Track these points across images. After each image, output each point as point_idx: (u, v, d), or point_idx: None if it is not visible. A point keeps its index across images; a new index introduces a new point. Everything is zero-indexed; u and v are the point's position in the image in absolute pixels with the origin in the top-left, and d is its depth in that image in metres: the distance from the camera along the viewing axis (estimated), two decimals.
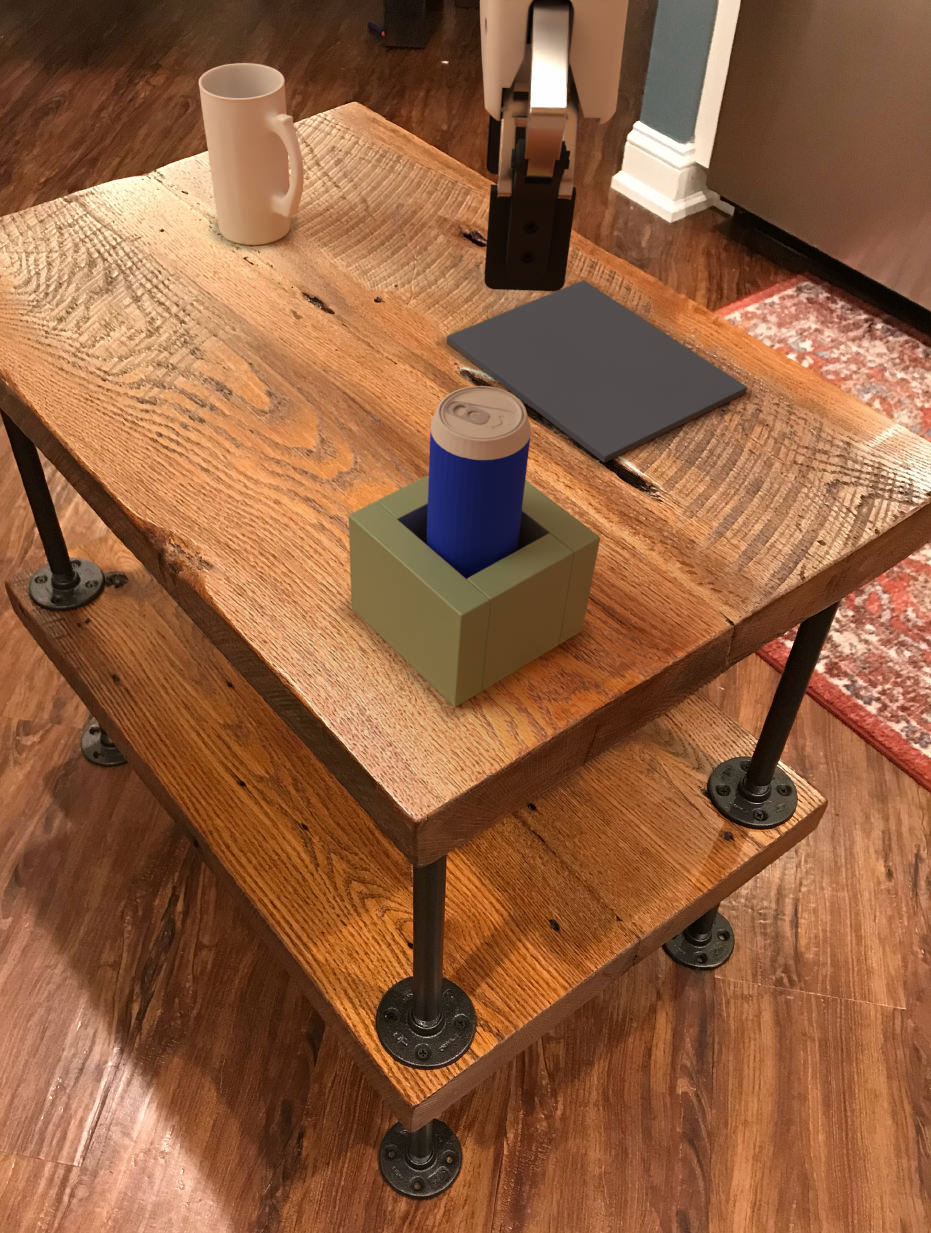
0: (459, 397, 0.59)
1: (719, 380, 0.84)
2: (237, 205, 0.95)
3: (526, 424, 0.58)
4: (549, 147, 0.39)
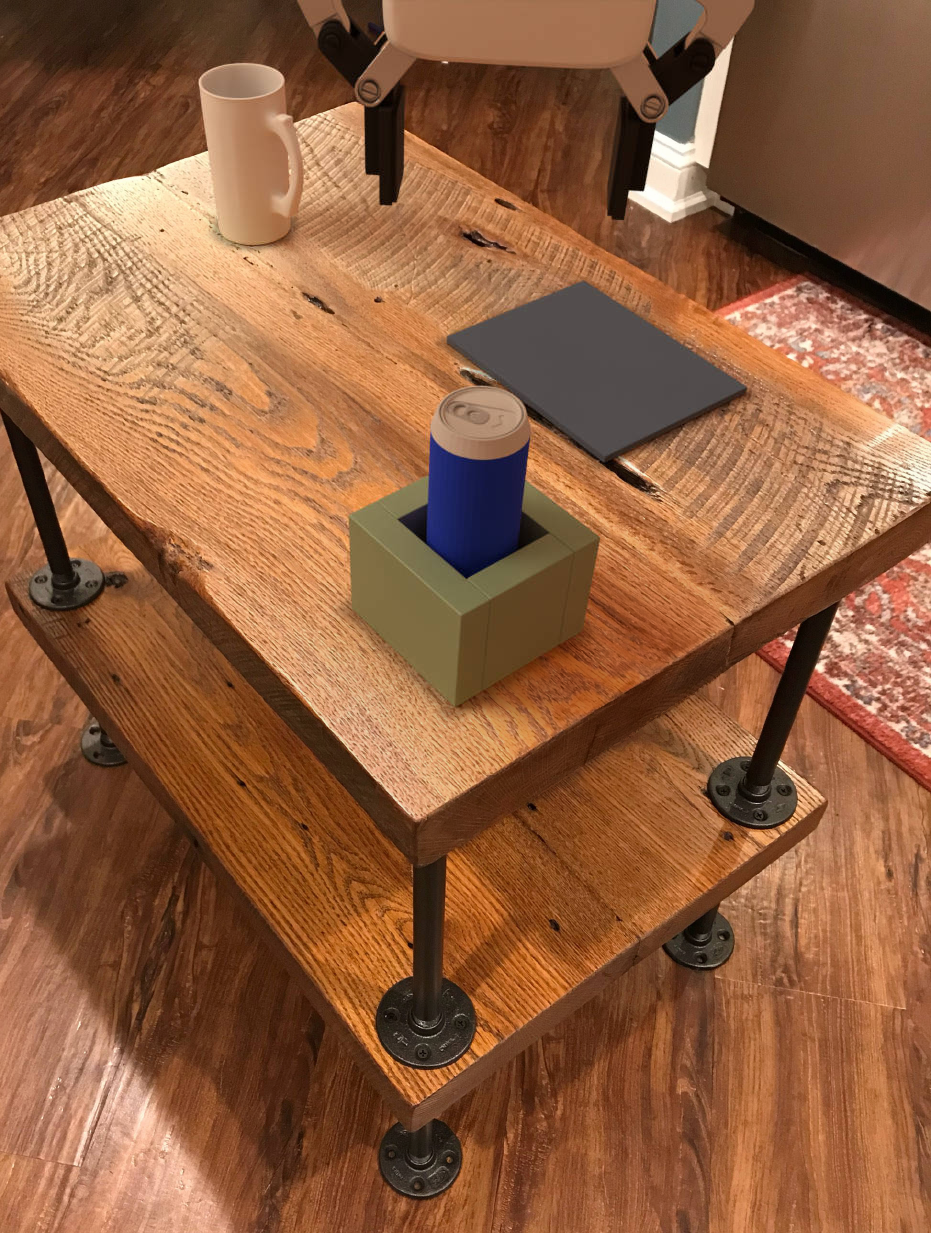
0: (459, 397, 0.59)
1: (719, 380, 0.84)
2: (237, 205, 0.95)
3: (526, 424, 0.58)
4: None
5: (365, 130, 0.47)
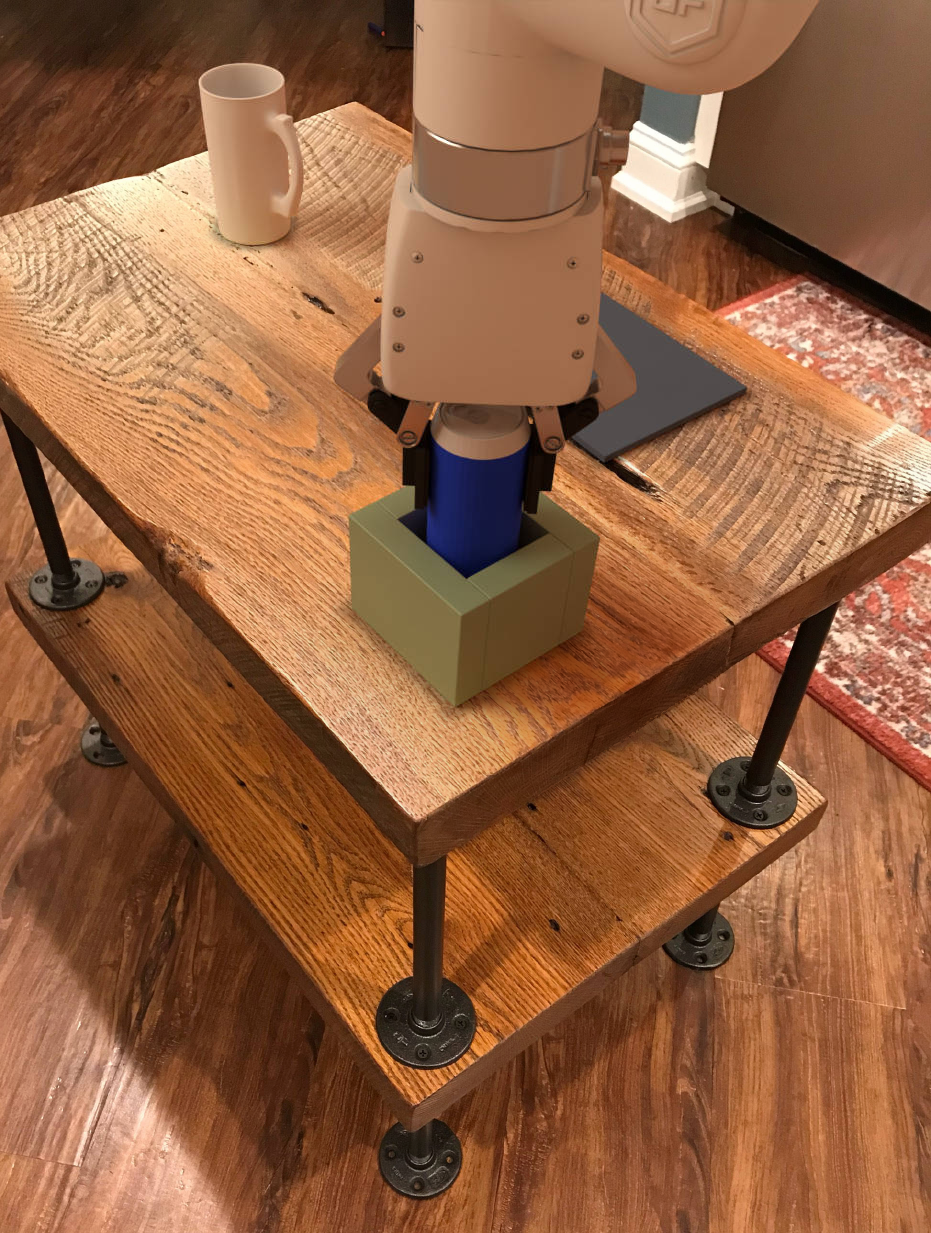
0: None
1: (719, 380, 0.84)
2: (237, 205, 0.95)
3: (526, 424, 0.58)
4: None
5: (403, 459, 0.60)
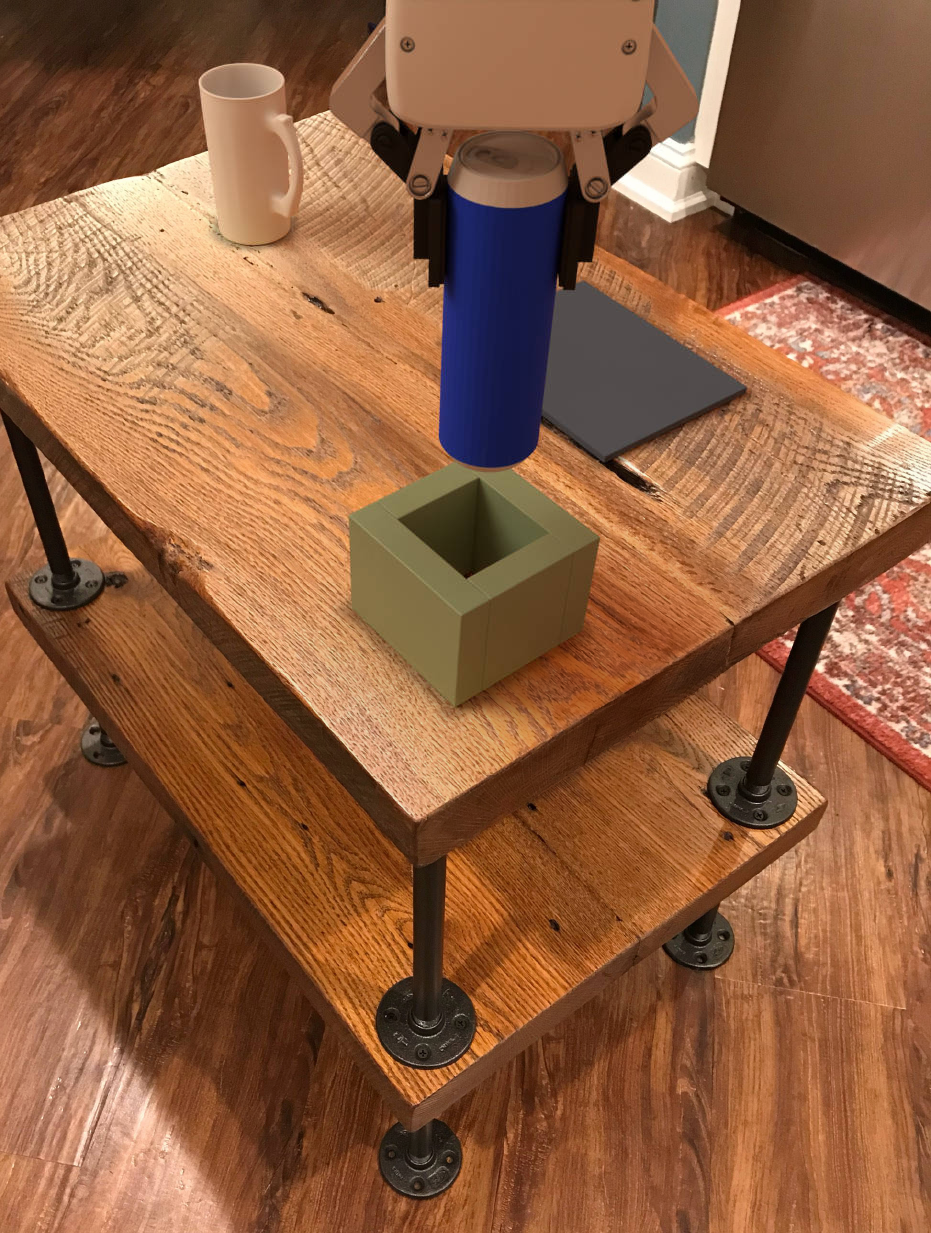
0: (482, 142, 0.49)
1: (719, 380, 0.84)
2: (237, 205, 0.95)
3: (563, 167, 0.48)
4: None
5: (414, 219, 0.50)
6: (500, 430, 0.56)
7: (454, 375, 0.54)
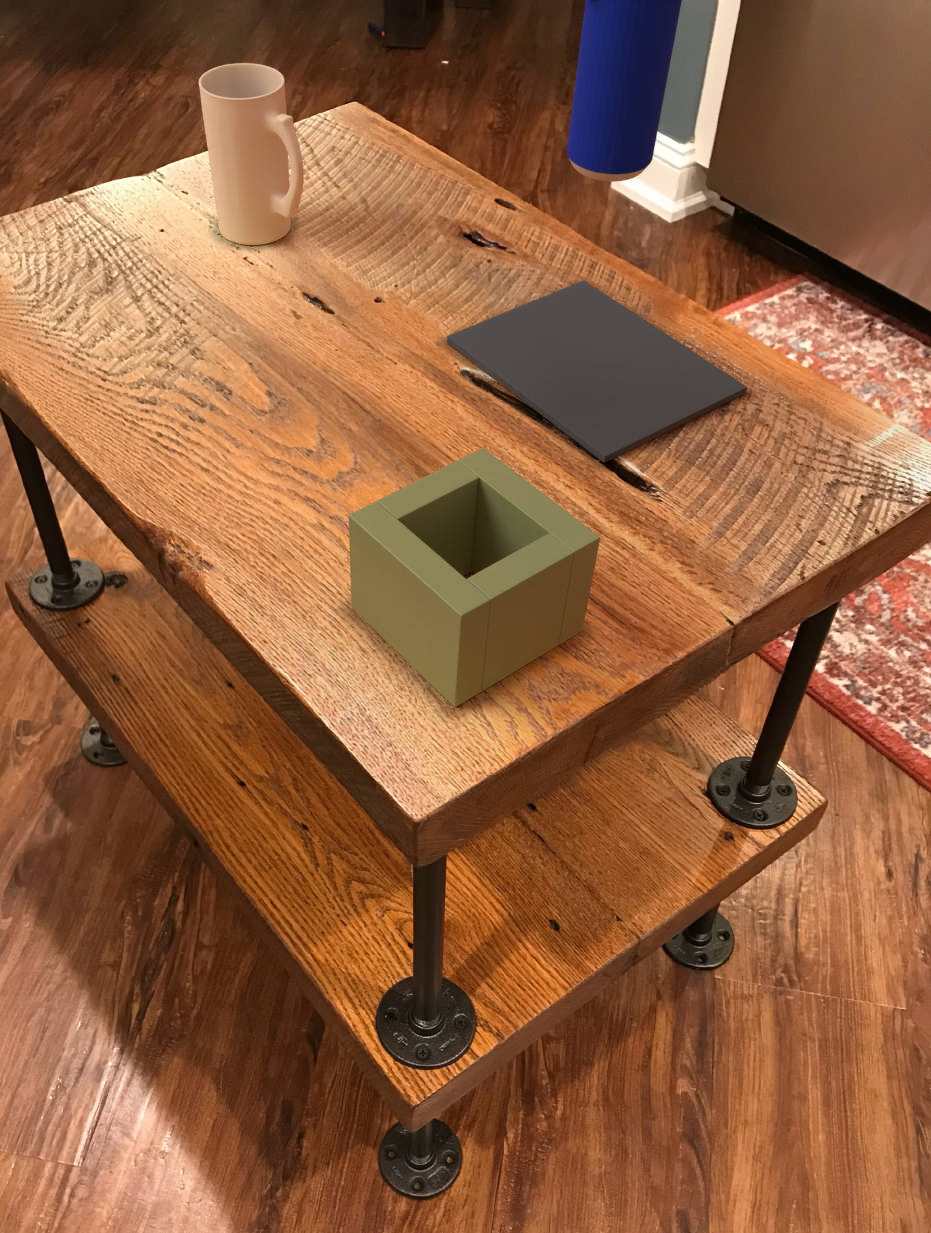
0: None
1: (719, 380, 0.84)
2: (237, 205, 0.95)
3: None
4: None
5: None
6: (626, 134, 0.66)
7: (591, 82, 0.64)
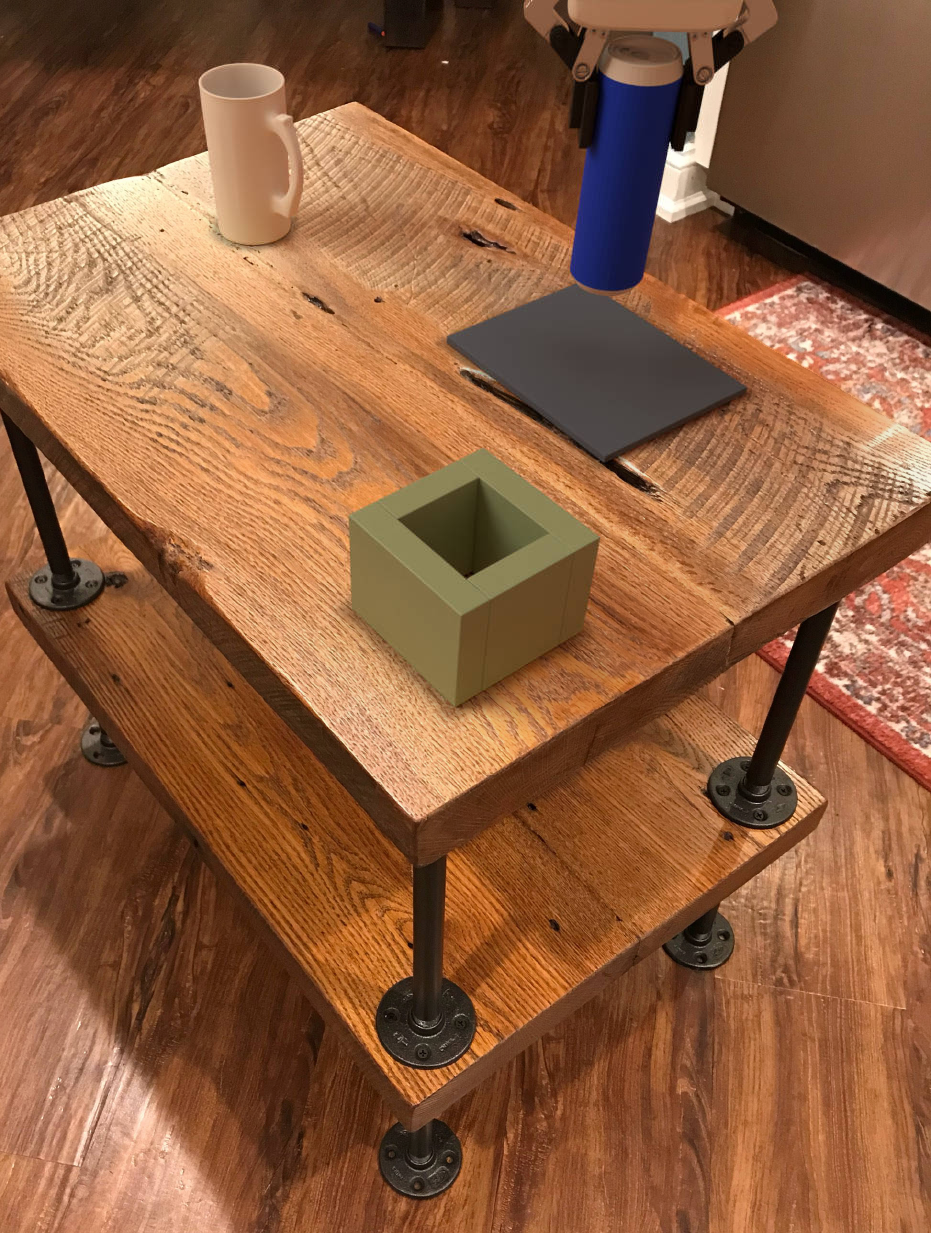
0: (623, 42, 0.70)
1: (719, 380, 0.84)
2: (237, 205, 0.95)
3: (681, 59, 0.69)
4: None
5: (573, 97, 0.71)
6: (620, 260, 0.77)
7: (591, 217, 0.76)
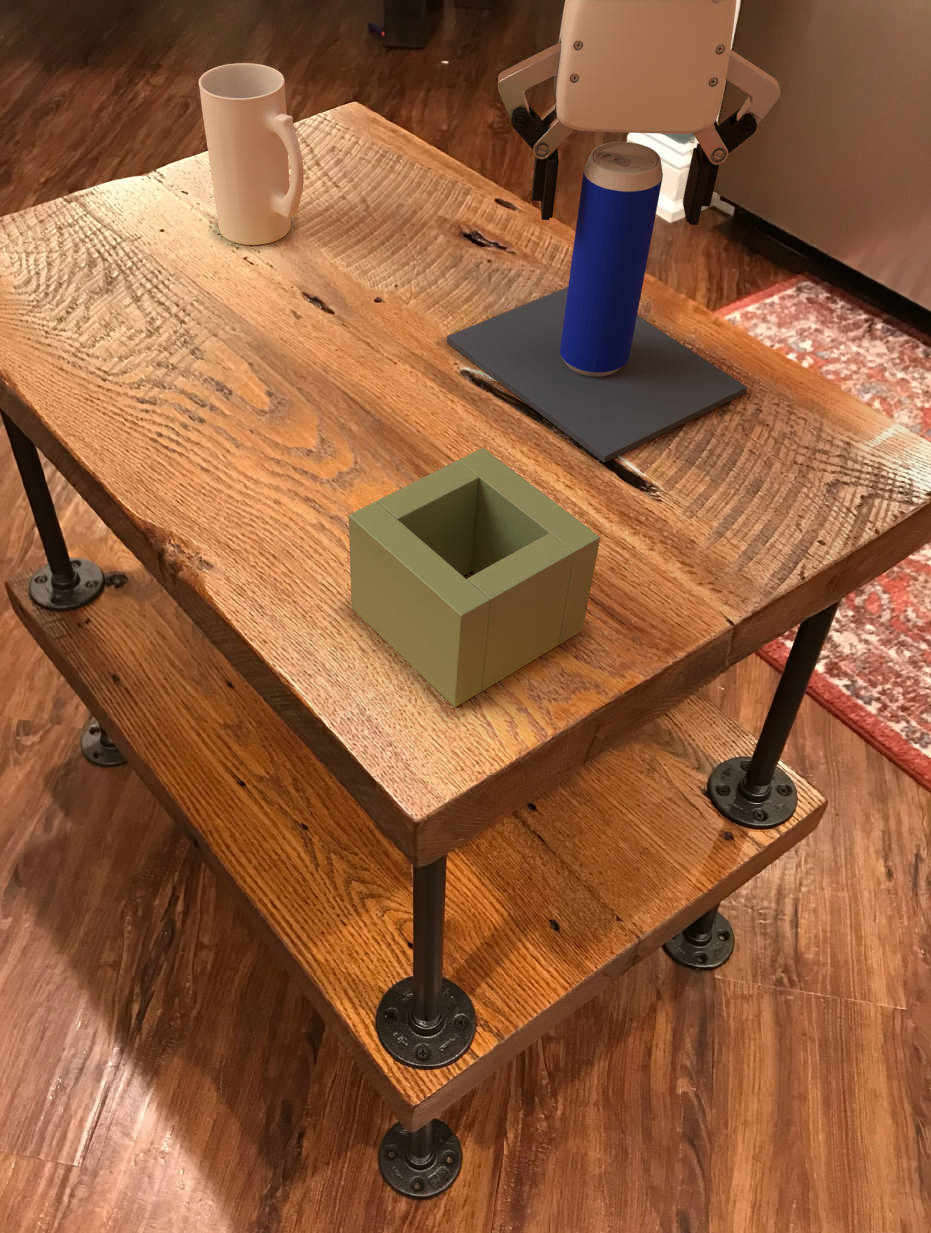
0: (606, 149, 0.75)
1: (719, 380, 0.84)
2: (237, 205, 0.95)
3: (660, 166, 0.74)
4: None
5: (535, 173, 0.75)
6: (607, 344, 0.82)
7: (578, 306, 0.81)
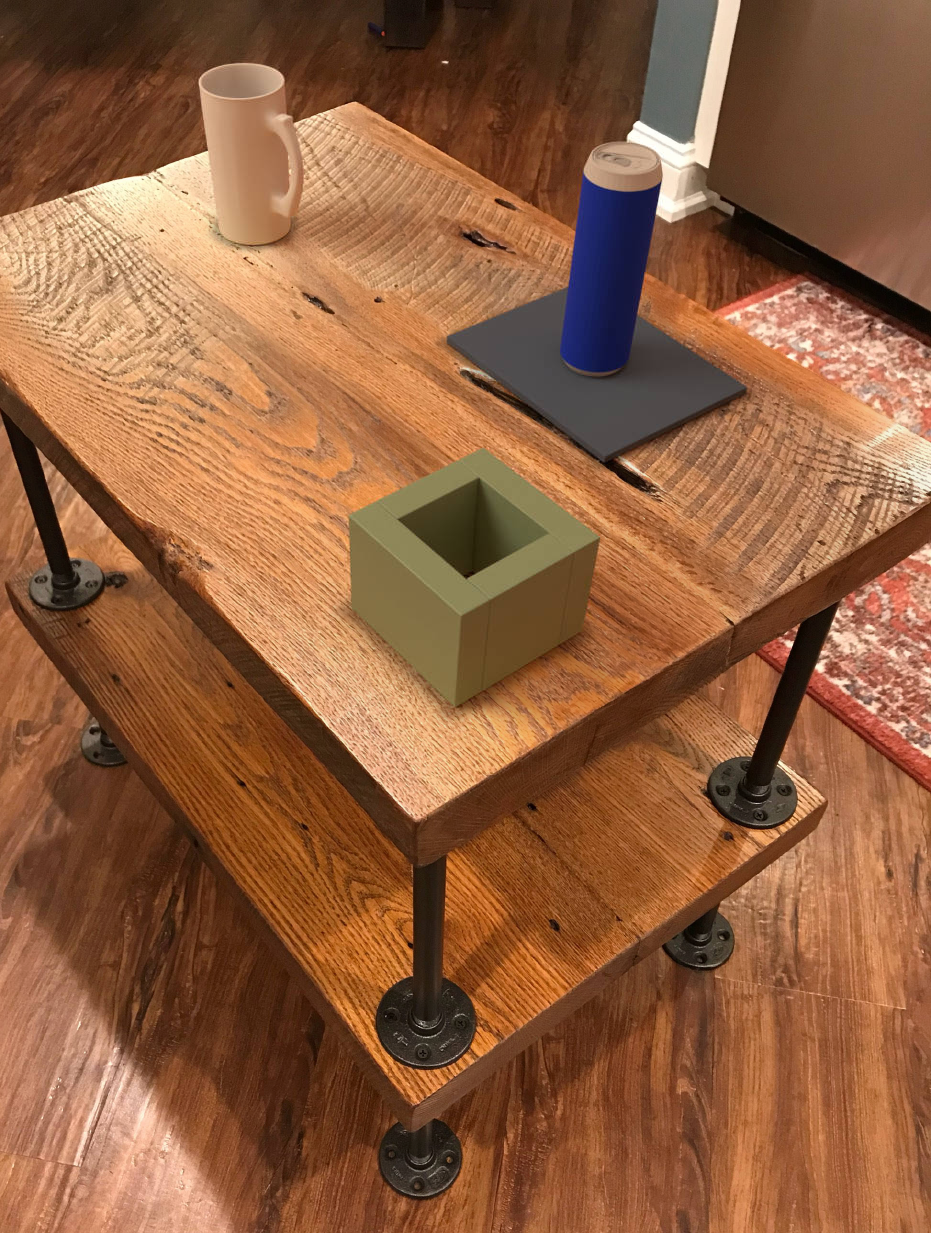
0: (606, 149, 0.75)
1: (719, 380, 0.84)
2: (237, 205, 0.95)
3: (660, 166, 0.74)
4: None
5: None
6: (607, 344, 0.82)
7: (578, 306, 0.81)
